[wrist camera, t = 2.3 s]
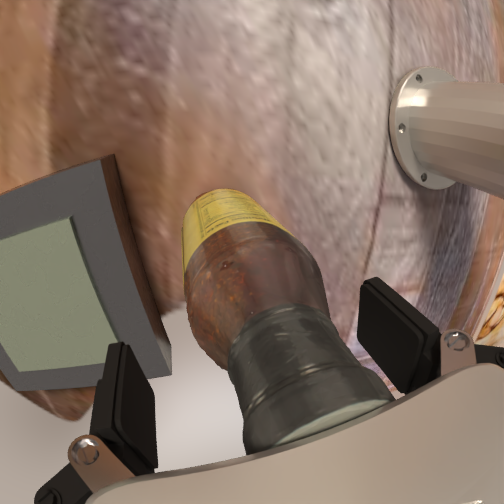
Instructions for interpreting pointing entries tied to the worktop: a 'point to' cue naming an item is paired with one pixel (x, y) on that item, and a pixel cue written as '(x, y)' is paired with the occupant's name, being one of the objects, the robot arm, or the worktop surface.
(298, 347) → the sauce bottle
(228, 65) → the worktop surface
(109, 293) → the stand
